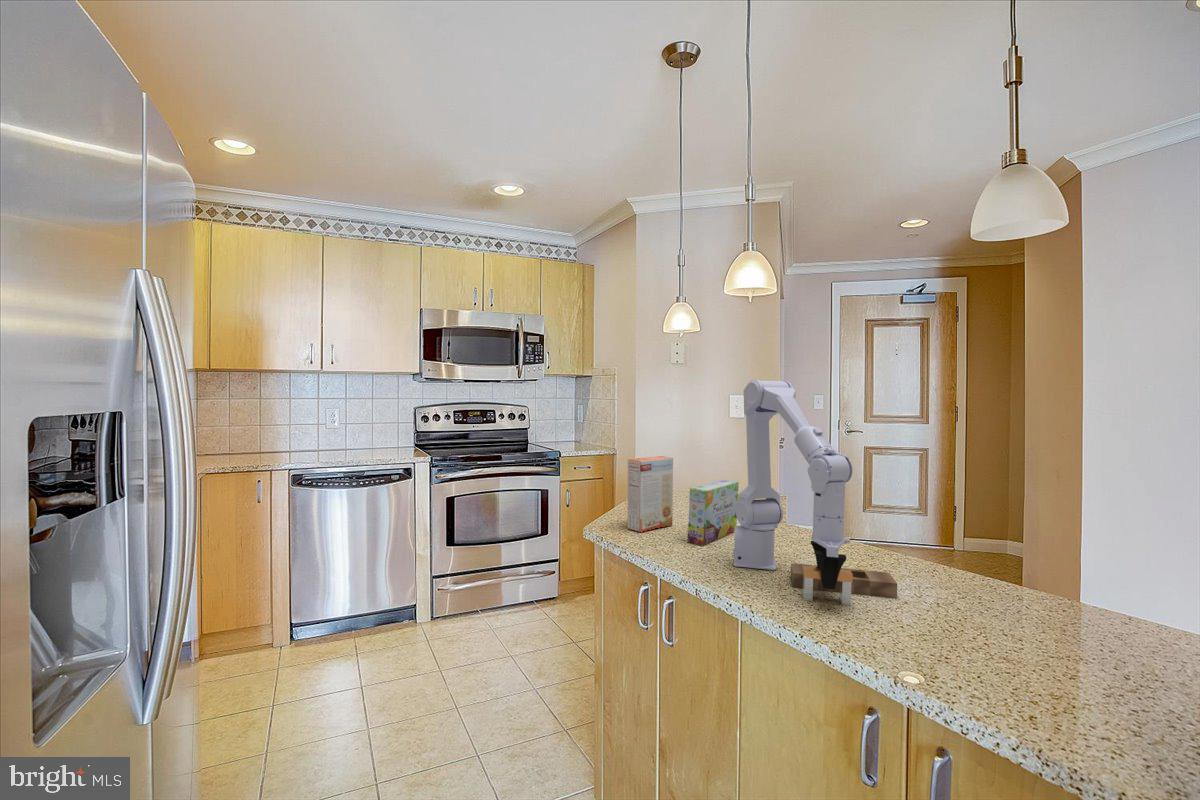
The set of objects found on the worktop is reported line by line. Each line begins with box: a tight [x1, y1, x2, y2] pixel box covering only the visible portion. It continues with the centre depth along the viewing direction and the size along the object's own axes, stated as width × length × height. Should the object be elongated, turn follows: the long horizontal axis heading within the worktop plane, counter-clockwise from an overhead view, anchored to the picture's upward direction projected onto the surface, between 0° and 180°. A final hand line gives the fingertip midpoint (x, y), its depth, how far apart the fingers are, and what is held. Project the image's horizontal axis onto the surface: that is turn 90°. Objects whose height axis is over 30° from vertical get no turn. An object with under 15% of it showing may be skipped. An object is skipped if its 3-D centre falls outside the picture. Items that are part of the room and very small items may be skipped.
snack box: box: [687, 479, 740, 547], centre depth 157 cm, size 21×6×15 cm, turn 143°
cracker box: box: [627, 455, 674, 533], centre depth 166 cm, size 14×6×21 cm, turn 130°
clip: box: [802, 566, 853, 606], centre depth 111 cm, size 9×3×6 cm, turn 74°
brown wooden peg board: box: [790, 562, 898, 599], centre depth 118 cm, size 20×7×3 cm, turn 74°
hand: (826, 582), depth 111 cm, fingers open, 6 cm apart
